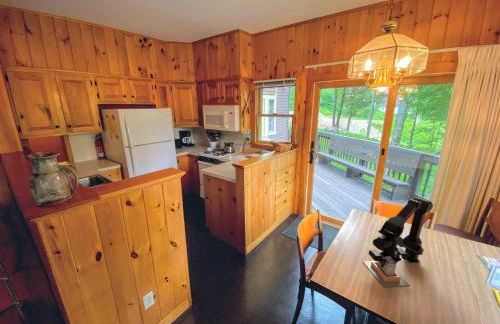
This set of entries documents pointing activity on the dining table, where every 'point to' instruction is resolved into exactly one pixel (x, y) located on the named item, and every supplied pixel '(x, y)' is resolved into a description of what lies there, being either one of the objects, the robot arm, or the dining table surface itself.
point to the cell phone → (398, 240)
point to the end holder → (382, 278)
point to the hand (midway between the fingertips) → (385, 267)
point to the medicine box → (388, 266)
